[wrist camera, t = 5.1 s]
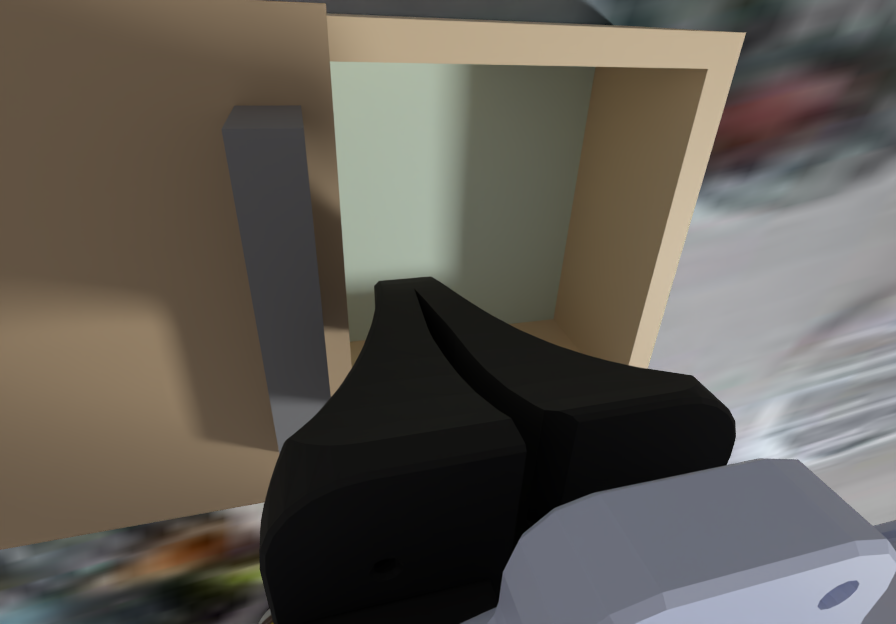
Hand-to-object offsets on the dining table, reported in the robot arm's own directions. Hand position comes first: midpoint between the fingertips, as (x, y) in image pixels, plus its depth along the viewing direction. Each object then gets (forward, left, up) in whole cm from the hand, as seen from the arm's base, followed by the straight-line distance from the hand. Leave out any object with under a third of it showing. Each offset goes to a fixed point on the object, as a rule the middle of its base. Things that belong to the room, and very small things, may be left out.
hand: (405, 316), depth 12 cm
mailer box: (0, -2, -8) cm, 8 cm away
